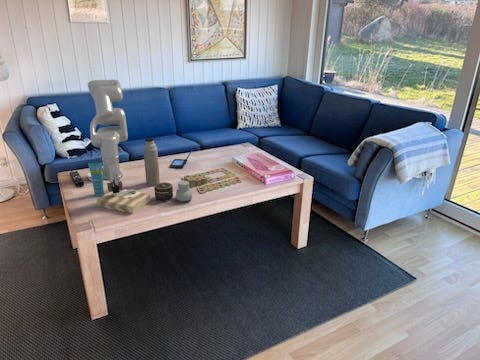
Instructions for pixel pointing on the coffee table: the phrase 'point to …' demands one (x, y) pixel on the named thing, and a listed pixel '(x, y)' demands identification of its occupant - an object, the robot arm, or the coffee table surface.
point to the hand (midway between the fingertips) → (115, 191)
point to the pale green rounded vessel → (183, 191)
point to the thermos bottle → (151, 162)
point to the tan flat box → (124, 201)
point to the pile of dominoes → (211, 180)
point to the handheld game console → (179, 163)
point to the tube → (97, 178)
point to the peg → (119, 188)
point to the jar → (163, 191)
